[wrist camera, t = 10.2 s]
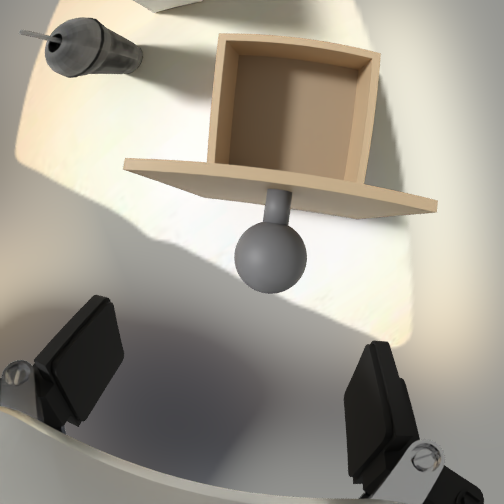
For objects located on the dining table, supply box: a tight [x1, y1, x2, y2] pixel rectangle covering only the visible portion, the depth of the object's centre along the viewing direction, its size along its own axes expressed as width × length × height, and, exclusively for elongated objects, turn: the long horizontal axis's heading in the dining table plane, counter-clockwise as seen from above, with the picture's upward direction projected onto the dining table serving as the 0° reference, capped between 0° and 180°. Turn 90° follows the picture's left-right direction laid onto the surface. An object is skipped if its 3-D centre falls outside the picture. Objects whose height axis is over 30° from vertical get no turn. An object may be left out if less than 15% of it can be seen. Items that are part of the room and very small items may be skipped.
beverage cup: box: [19, 18, 143, 78], centre depth 24 cm, size 7×7×20 cm
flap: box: [123, 158, 438, 294], centre depth 22 cm, size 17×16×6 cm
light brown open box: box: [207, 34, 380, 184], centre depth 30 cm, size 17×16×8 cm
